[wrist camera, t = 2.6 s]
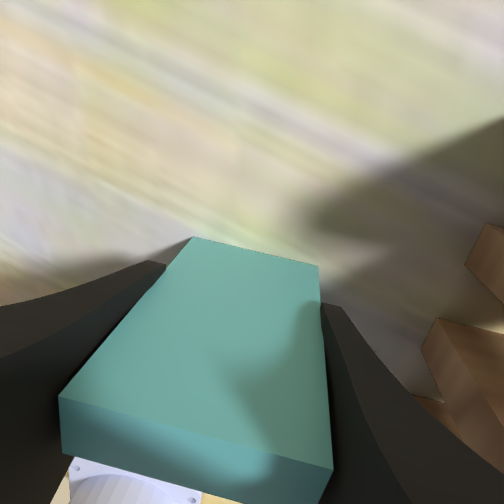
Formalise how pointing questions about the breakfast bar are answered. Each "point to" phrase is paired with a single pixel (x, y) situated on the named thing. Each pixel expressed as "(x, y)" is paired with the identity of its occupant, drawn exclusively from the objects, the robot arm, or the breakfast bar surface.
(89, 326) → the robot arm
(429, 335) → the walnut domino
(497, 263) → the walnut domino
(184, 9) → the breakfast bar surface
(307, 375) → the teal domino
